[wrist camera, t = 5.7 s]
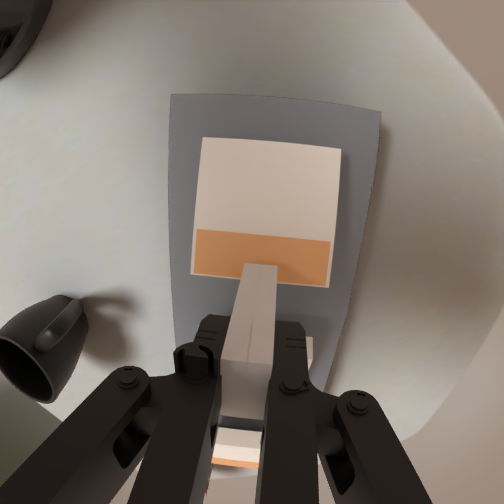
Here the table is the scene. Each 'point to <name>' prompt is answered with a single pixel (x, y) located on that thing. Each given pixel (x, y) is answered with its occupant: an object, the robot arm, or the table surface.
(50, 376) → the mug
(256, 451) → the switch
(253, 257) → the switch
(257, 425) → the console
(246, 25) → the table surface
